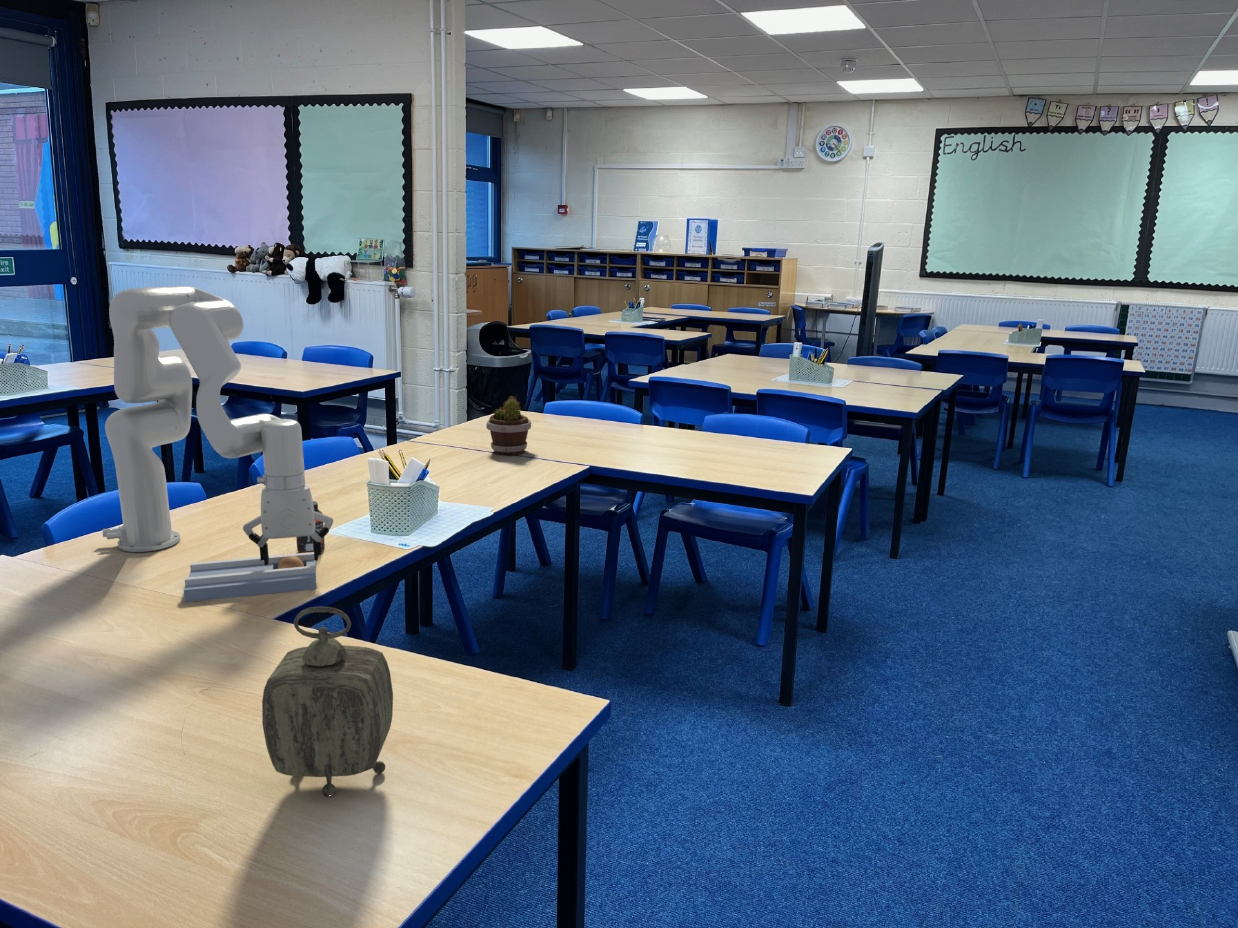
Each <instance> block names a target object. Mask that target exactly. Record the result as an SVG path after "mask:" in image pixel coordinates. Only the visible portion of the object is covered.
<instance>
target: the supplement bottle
mask: <svg viewBox="0 0 1238 928" xmlns="http://www.w3.org/2000/svg"><path fill="white" fill-rule="evenodd" d="M313 506H314V511H315V512H318V513H321V514H323V512H322V511H321V510H320V508H319V503H318V502H317V501H314V500H313ZM324 525H325V524H324V522H321V521H319V520H316V519H315V529H317V530H318V531H320V530H321V529H322V528H323V527H324ZM295 539H296V550H297V552H298V554H299V553H310V552H314V547H313V538H312V537H311V536H310V535H309V536H301V537H295ZM325 545H326V543H325V537H324V538H323V539H322V540H321V553H322V552H323V551H324V550H325Z"/></svg>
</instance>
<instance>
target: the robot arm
mask: <svg viewBox="0 0 1238 928" xmlns="http://www.w3.org/2000/svg"><path fill="white" fill-rule="evenodd" d="M108 308H109V309H108V311H109V312H108V313H109V314H108V315H109V322H110V326H111V329H112V335H113V340H114V341H113V343H114V345H113V386H114V393H115V395H116V396H117V398H118V399H119V400H120V401H122V402H125V403H127V404H141V405H135V406H128V407H124V408H121V409H119V410H115V411H114V412H112V413H111V414H110V415H109V416H108V417H107V419H106V421H105V425H104V430H105V434H106V437H107V442H108V444H109V446H110V449H111V453H112V457H113V460H114V466H115V474H116V481H117V488H118V495H119V504H120V511H121V517H122V526H118V527H117V528H111V527H109V528H103V529H102V537H103V538H106V539H107V540H114V539H118V541H117V548H118V549H119V550H122V551H124V552H129V553H131V552H132V553H145V552H154V551H158V550H159V551H160V550H163V549H166V548H170V547H172V546H174V545H177V544H178V543H179V542H180V541H181V535H180V533H179V532H178V531H175V530H173V529H172V520H171V513H170V505H169V503H170V502H169V495H168V487H167V486H168V485H167V479H166V478H167V477H166V472H165V471H166V470H165V466H164V464H163V461H162V460H161V458H160V457H159V456H158V455H157V454H156V453H155V451H154V450H153V448H155V447H158V446H162V445H167V444H172V443H175V442H180V441H181V440H183V439H185V438H186V437H187V436H188V434H189V433H190V429H191V422H192V420H191V419H192V403H193V402H192V401H193V378H192V374H191V371H190V369H189V366H187V364H186V362H185V361H184V360H183V359H181V358H179V356H178V357H177V356H174V355H169V354H168V355H160V340H159V338H158V335H157V334H156V333H155V331H154V329H166V328H171V331H172V334H173V335H174V337H175V338H176V340H177V343H178V344H179V346H180V348H181V350H182V351H183V353H184V355H185V356H186V359H187V360H188V362H189V364H190V365H191V367H192V369H193V371H194V373H195V374H196V376H197V378H198V381H199V387H198V390H197V392H196V393H197V394H196V397H195V398H196V401H195V403H196V405H195V407H196V417H197V420H198V423H199V425H200V427H201V429H202V432H203V433H204V435H205V437H206V439H207V440H208V442H209V444H210V445H211V447H212V448H213V450H215V452H216V453H217V454H219V455H220V456H221V457H223V458H226V459H236V458H237V459H238V458H241V457H245V456H249V455H253V454H257V453H261V452H262V460H263V470H264V474H263V475H262V476H257V477H256V480H257V484H261V485H263V486H264V487H263V488H262V489H261V494H260V515H259V516H257V517H255V518H254V519H252V520H250V521H248V522H246V523H244V524H243V525H242V531H243V532H244V533H245V535H246V536H247V537H248V539H249V540H250V541H252V542H253V543H254V544H256V546H257V547H258V548H259V557H260V558H261V560H264V565H268V563H269V556H270V555H269V545H268V541H269V539H270V540H276V539H278V540H279V539H288V538H296V537H301V536H309V535H310V536H311V537H312V538H313V547H314V560H316V562H317V561H319V556H322V552H321V540H322V539H323V538H325V536H327V535H328V534H329V532H330V530H331V528H332V526H333V524H334V518H333V517H331V516H328V515H326V514H323V513H322V514H321V513H318V512H315V511H314V506H313V501H314V500H313V495H312V492H311V488H310V485H309V484H307V483H306V476H305V473H306V471H305V463H304V449H303V448H304V447H303V436H302V426H301V424H300V423H299V421H297V420H294V419H289V418H280V417H278V416H275V415H273V414H269V413H258V414H254V415H248V416H243V417H239V418H237V417H236V418H234V419H233V418H232V419H230V418H229V417H228V415H227V414H226V411H225V409H224V408H223V406H222V402H221V389H222V387H223V386H225V384H227V383H229V382H230V381H231V380H233V379H234V378H235V377H236V376H238V374H239V373H240V371H241V368H242V364H241V362H240V359H239V358H238V357H237V354H236V353H235V351H234V349H233V347H232V346H231V344H230V342H229V341H231V340H233V341H234V340H235V339H237V338H239V337H240V336H241V334H242V333H243V329H244V319H243V317H242V315H241V312H240V310H238V308H237V307H236V306H235V305H234V304H233V303H232V302H230V301H229V300H227V299H225V298H223V297H220V296H218V295H216V294H212V293H210V292H207V291H205V290H203V289H200V288H198V287H194V286H189V285H177V286H176V285H175V286H147V287H146V286H145V287H134V288H128V289H124V290H121V291H119V292H118V293H116V294H115V295H114V296H113V297H112V299H111V301H110V304H109V307H108ZM155 401H157V402H155ZM148 402H154V403H148ZM142 403H143V404H142ZM144 403H146V404H144ZM315 519H316V520H319V521H321V522H323V525H324V527H323V528H322V529H321V530H320V531H318V530H317V529H315ZM259 525H261V535H259V534H257V533H256V532H255V531H254V530H253V529H254V528H256V527H257V526H259Z"/></svg>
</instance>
